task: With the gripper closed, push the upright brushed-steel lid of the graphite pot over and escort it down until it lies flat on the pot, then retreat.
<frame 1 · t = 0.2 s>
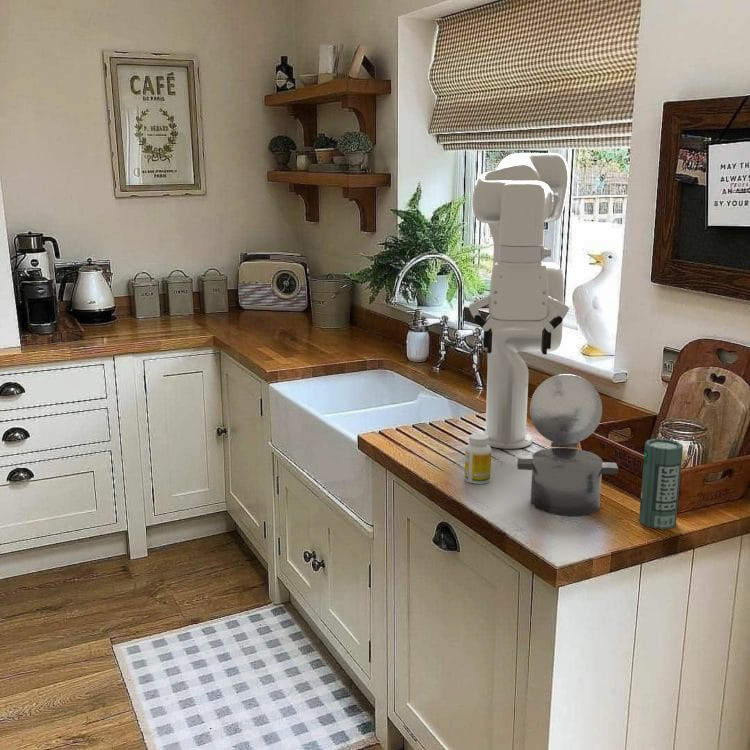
hand: (516, 352, 147), 31 cm above the countertop, tool pointing down, fingers open, 9 cm apart
lid: (565, 410, 165), point 16 cm above the countertop, hinge at 95.0°
can: (657, 523, 151), on the countertop
pot: (564, 502, 159), on the countertop
supplement bottle: (477, 481, 172), on the countertop
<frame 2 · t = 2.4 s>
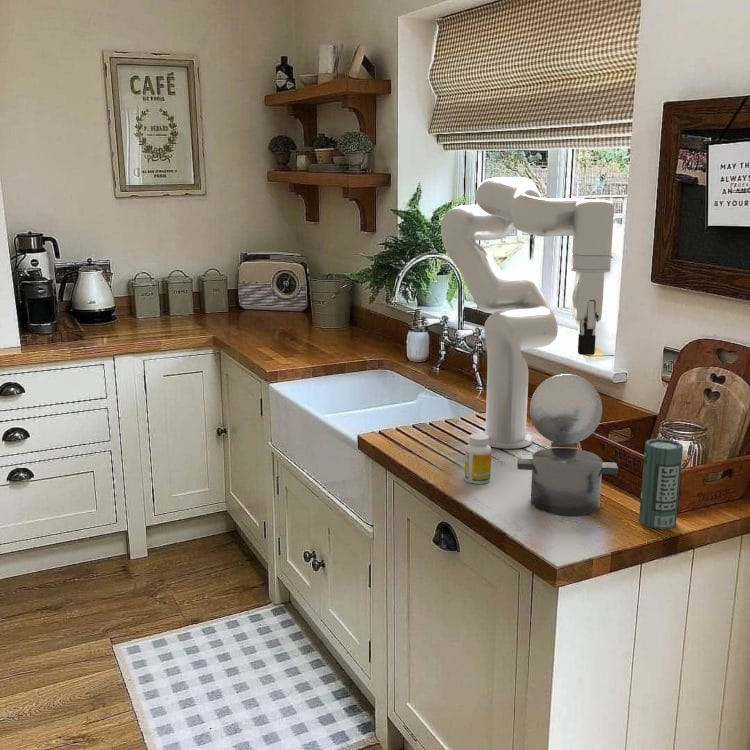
hand: (586, 353, 168), 26 cm above the countertop, tool pointing down, fingers closed
nothing on the countertop moved.
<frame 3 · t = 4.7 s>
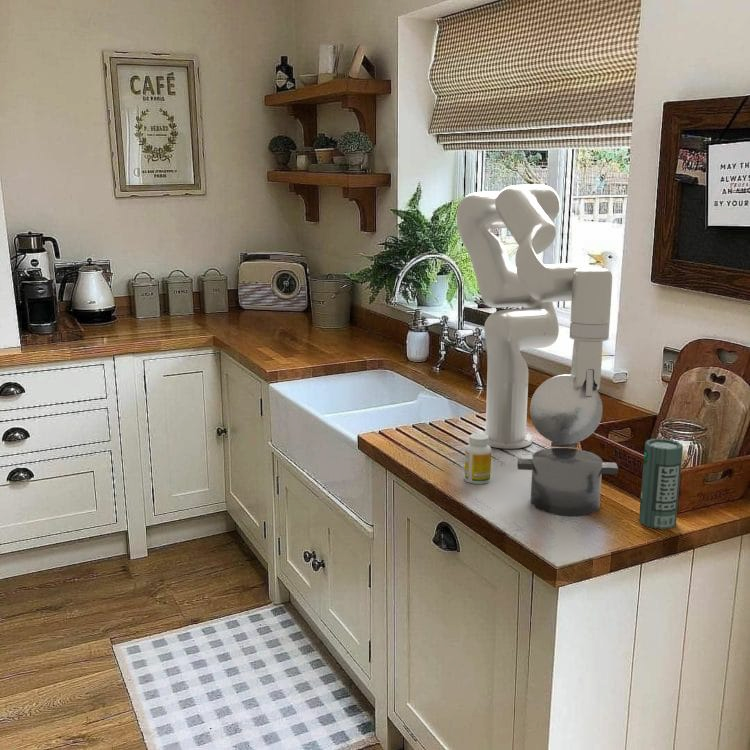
hand: (584, 419, 167), 13 cm above the countertop, tool pointing down, fingers closed
lid: (565, 410, 164), point 16 cm above the countertop, hinge at 91.3°, touching gripper
everything else where it was.
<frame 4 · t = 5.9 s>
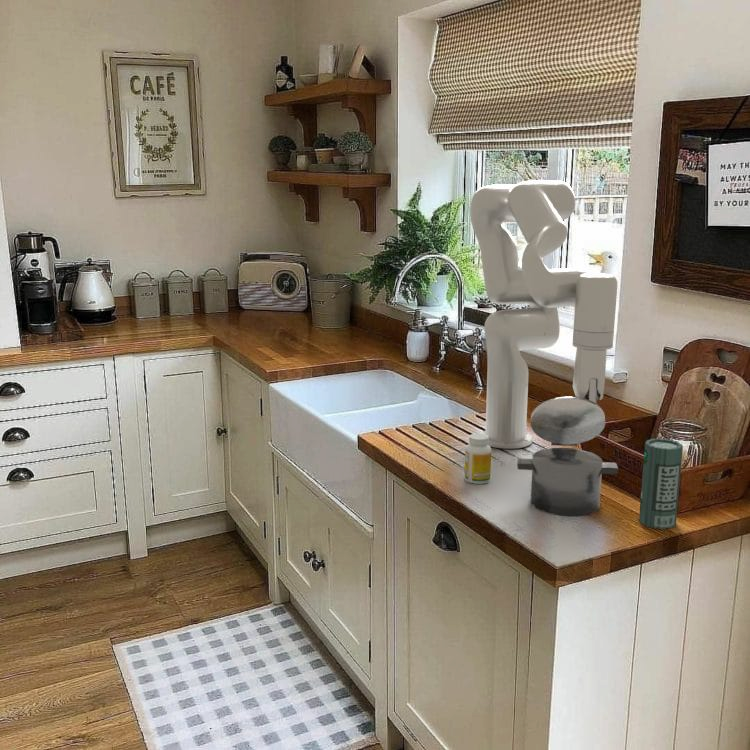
hand: (586, 429, 163), 13 cm above the countertop, tool pointing down, fingers closed
lid: (567, 419, 160), point 16 cm above the countertop, hinge at 53.6°, touching gripper
everything else where it was.
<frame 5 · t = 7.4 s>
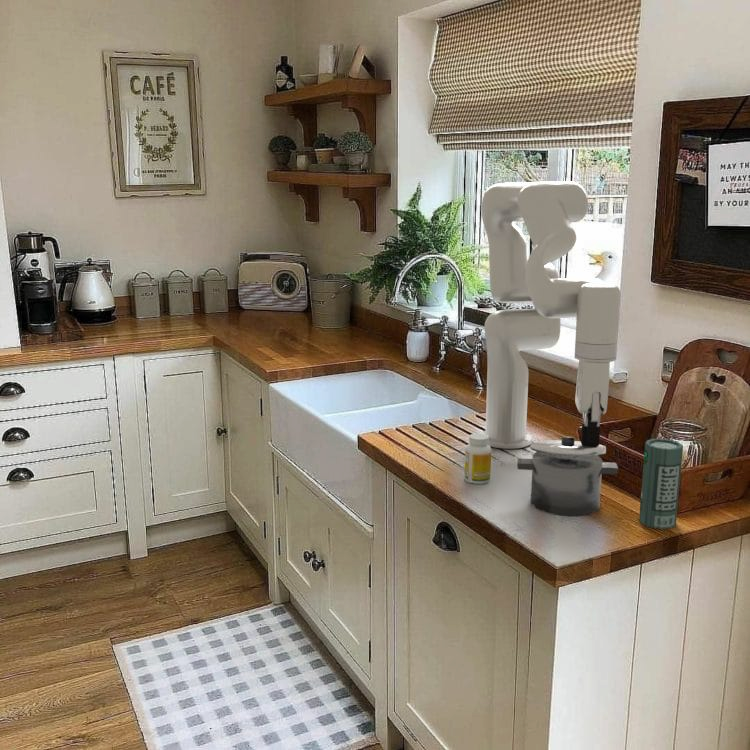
hand: (589, 444, 157), 12 cm above the countertop, tool pointing down, fingers closed
lid: (567, 443, 157), point 12 cm above the countertop, hinge at 10.5°
everything else where it was.
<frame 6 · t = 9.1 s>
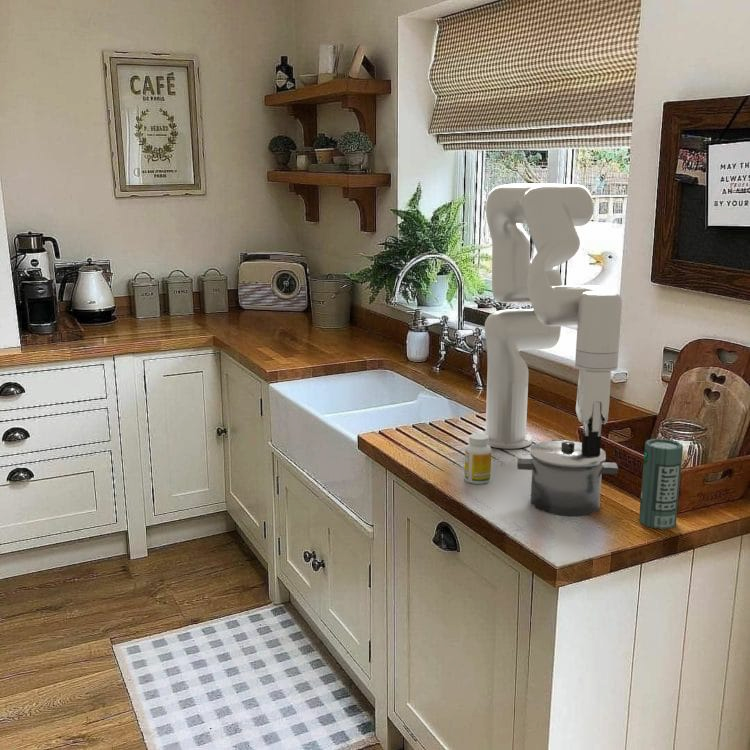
hand: (590, 454, 155), 11 cm above the countertop, tool pointing down, fingers closed
lid: (567, 449, 157), point 11 cm above the countertop, hinge at 1.9°, touching gripper
everything else where it was.
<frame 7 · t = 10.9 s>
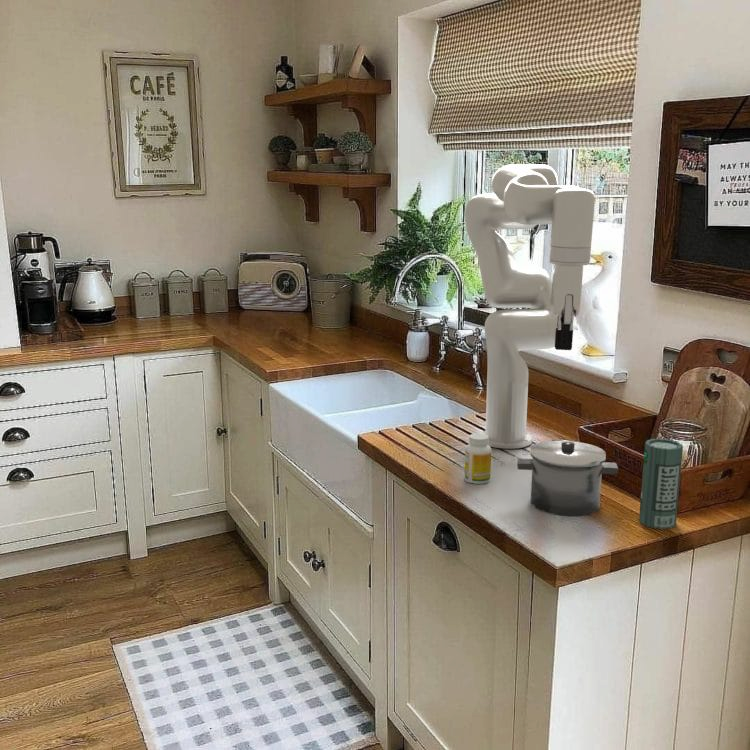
hand: (563, 348, 162), 29 cm above the countertop, tool pointing down, fingers closed
lid: (567, 449, 157), point 11 cm above the countertop, hinge at 1.9°
everything else where it was.
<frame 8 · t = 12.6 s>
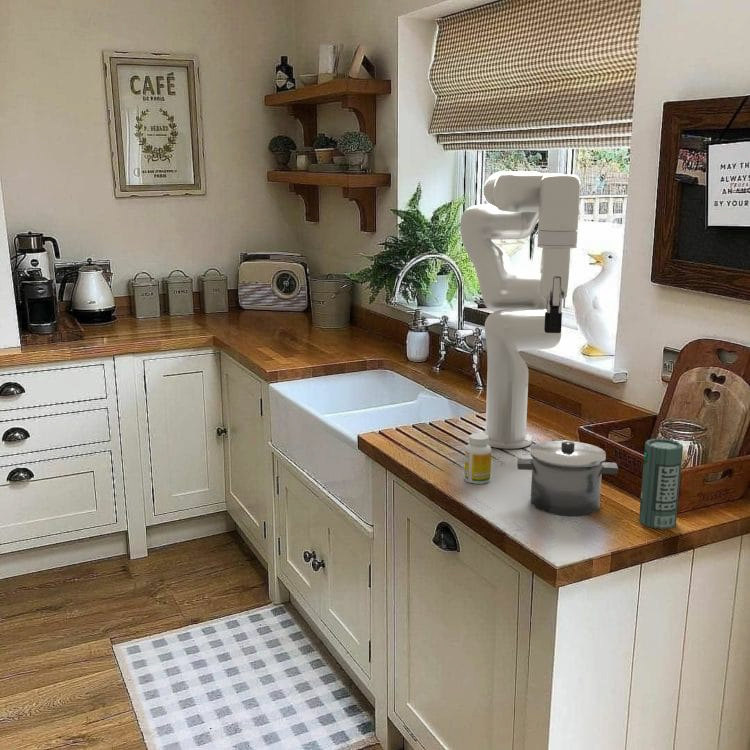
hand: (552, 332, 165), 31 cm above the countertop, tool pointing down, fingers closed
nothing on the countertop moved.
at the end: lid at +2° (first picture: +95°); lid touching nothing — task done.
